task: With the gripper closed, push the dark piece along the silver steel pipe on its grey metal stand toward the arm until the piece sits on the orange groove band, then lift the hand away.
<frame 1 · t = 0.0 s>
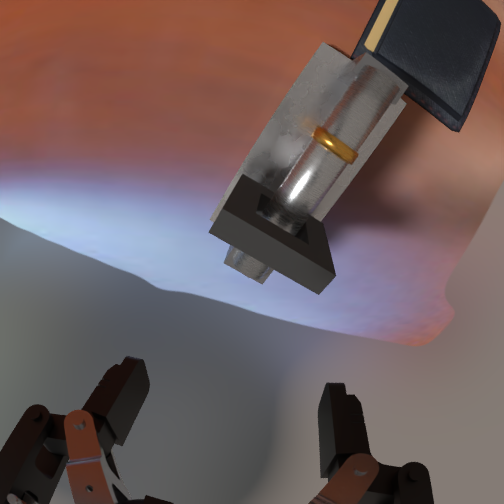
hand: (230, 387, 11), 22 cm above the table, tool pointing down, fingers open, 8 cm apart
wallet: (436, 31, 19), on the table
pipe stand: (305, 156, 28), on the table
dark piece: (276, 226, 23), point 8 cm above the table, slide at 5.0 cm
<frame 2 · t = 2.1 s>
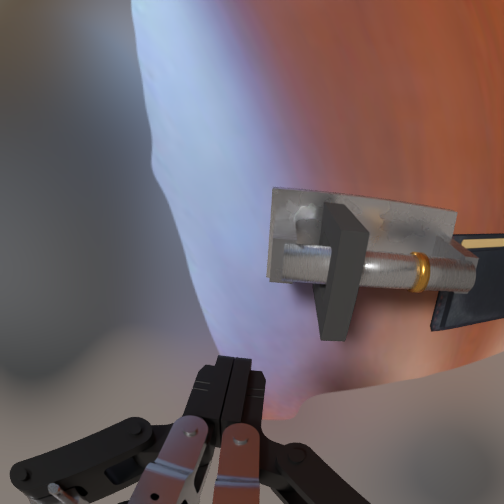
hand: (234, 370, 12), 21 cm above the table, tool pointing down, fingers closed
wallet: (487, 278, 31), on the table
pipe stand: (366, 240, 31), on the table
dark piece: (335, 265, 24), point 8 cm above the table, slide at 5.0 cm
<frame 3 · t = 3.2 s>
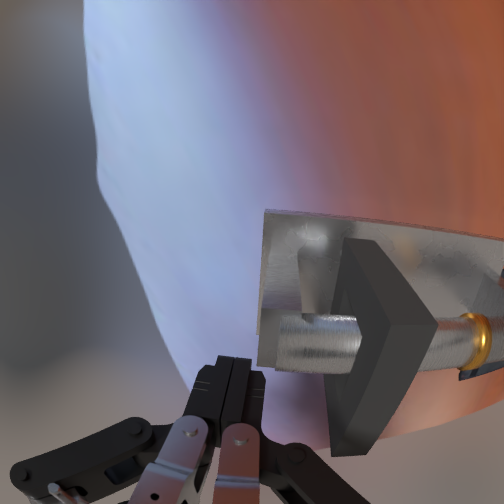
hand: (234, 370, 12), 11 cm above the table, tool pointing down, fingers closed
pipe stand: (396, 282, 21), on the table
dark piece: (360, 345, 14), point 8 cm above the table, slide at 5.0 cm
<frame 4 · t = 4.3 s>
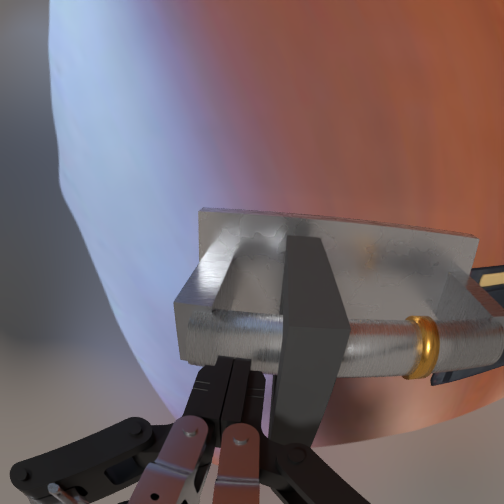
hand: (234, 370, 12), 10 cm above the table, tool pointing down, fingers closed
pipe stand: (345, 281, 21), on the table
dark piece: (297, 346, 14), point 8 cm above the table, slide at 4.0 cm, touching gripper
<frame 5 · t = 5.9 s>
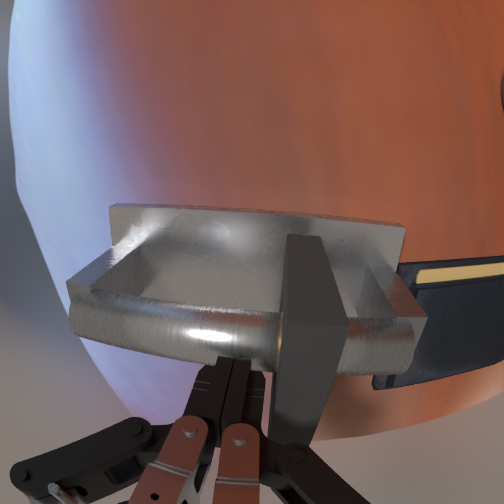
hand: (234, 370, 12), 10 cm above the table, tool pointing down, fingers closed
wallet: (464, 319, 23), on the table
pipe stand: (249, 273, 22), on the table
dark piece: (297, 344, 14), point 8 cm above the table, slide at -3.4 cm, touching gripper
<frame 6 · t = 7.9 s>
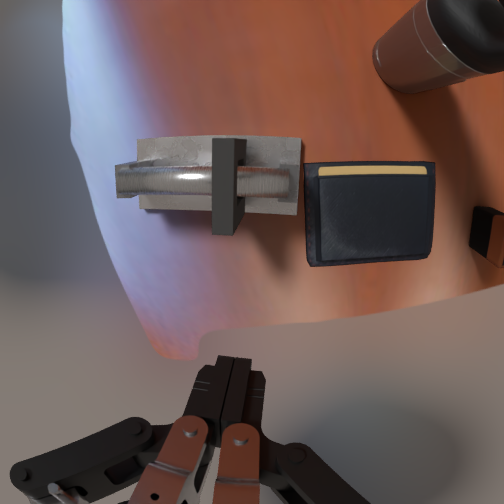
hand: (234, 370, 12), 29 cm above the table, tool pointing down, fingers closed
wallet: (373, 212, 38), on the table
battery: (478, 225, 36), on the table
pipe stand: (215, 172, 37), on the table
dark piece: (231, 181, 30), point 8 cm above the table, slide at -3.5 cm
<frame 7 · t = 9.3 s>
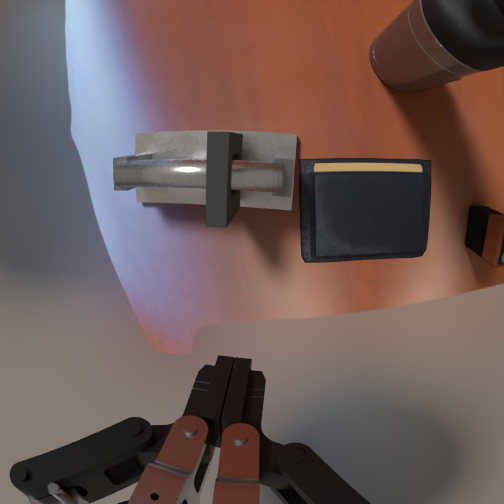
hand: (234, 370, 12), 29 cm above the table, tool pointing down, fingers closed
wallet: (368, 209, 38), on the table
battery: (475, 225, 36), on the table
pipe stand: (211, 167, 38), on the table
dark piece: (226, 174, 30), point 8 cm above the table, slide at -3.5 cm
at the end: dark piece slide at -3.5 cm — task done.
